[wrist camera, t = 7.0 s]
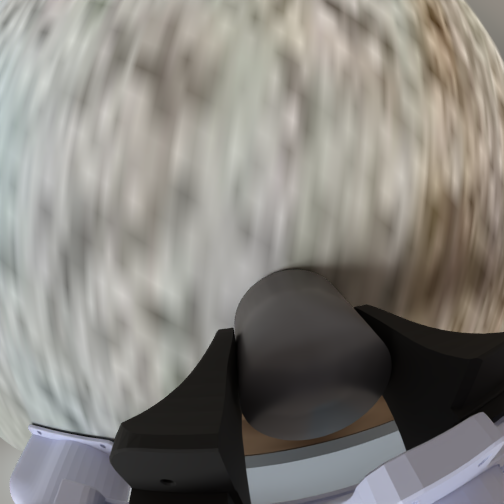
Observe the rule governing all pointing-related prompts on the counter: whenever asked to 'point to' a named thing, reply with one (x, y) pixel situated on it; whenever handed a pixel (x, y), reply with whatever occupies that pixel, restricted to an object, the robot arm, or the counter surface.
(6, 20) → the counter surface
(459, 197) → the counter surface
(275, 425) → the dark grey rounded plug
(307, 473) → the lid
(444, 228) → the counter surface
